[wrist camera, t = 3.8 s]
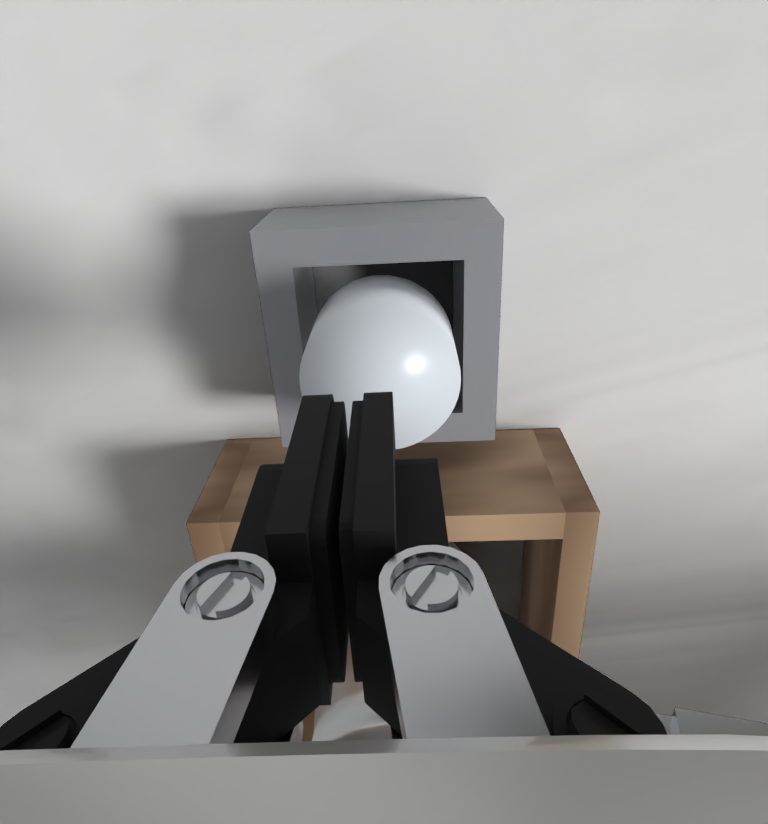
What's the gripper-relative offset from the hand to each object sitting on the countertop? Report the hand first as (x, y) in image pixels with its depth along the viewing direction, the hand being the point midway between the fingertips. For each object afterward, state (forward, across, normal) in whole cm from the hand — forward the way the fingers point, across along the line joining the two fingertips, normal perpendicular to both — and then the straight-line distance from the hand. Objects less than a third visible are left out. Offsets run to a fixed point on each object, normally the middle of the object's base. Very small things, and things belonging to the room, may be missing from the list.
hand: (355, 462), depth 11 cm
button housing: (+10, 0, 0) cm, 10 cm away
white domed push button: (+6, 0, 0) cm, 6 cm away
